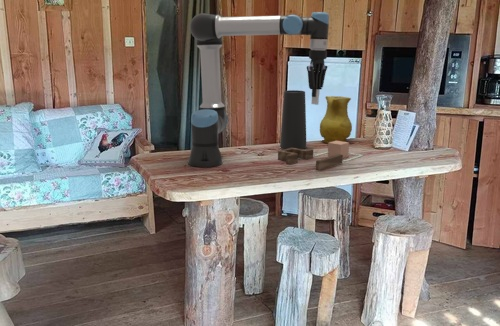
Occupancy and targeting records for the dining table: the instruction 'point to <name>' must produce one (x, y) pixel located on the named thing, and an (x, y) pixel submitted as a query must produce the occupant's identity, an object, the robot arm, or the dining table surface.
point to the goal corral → (344, 160)
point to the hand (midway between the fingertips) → (314, 104)
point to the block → (338, 148)
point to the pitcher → (336, 120)
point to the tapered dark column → (293, 120)
